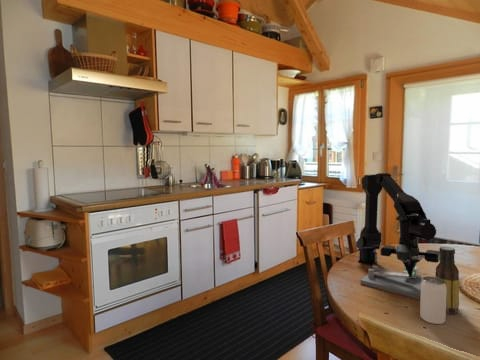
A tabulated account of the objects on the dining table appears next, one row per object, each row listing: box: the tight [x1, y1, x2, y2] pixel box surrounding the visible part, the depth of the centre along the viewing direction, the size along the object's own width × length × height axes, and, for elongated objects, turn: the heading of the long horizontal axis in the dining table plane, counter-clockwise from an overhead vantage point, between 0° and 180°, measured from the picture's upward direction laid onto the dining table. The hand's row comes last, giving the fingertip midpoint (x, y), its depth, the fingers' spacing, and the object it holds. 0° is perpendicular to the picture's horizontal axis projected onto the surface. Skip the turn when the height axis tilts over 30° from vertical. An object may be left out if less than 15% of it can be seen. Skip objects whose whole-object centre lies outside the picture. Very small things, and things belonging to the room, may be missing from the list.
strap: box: [374, 271, 409, 278], centre depth 120 cm, size 14×3×1 cm, turn 48°
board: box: [360, 264, 424, 301], centre depth 119 cm, size 22×17×4 cm
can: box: [419, 276, 447, 325], centre depth 94 cm, size 6×6×12 cm
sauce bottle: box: [434, 245, 460, 315], centre depth 99 cm, size 6×6×20 cm
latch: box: [402, 265, 419, 279], centre depth 121 cm, size 4×6×4 cm, turn 138°
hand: (410, 276), depth 116 cm, fingers closed
